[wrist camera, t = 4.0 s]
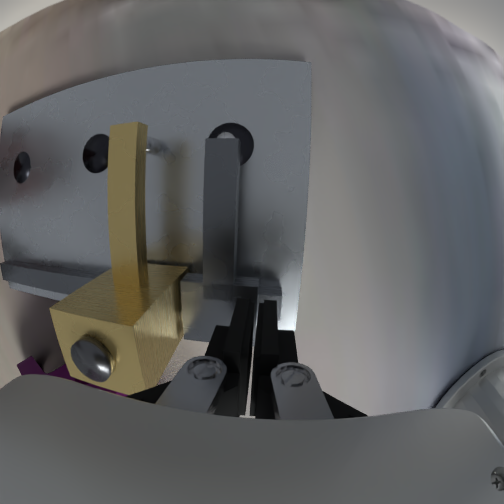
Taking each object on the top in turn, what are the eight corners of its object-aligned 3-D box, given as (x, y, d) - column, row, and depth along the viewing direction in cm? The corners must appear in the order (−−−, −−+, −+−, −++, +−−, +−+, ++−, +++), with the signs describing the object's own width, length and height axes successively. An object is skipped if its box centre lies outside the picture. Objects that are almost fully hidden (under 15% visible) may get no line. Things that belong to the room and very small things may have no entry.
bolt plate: (308, 69, 13) (311, 62, 12) (293, 322, 16) (294, 331, 15) (10, 117, 14) (2, 116, 13) (16, 284, 18) (9, 288, 17)
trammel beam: (290, 140, 13) (294, 130, 10) (278, 320, 16) (278, 347, 13) (6, 166, 14) (-18, 168, 12) (17, 283, 17) (-4, 294, 14)
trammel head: (190, 131, 13) (118, 93, 6) (190, 322, 15) (144, 408, 8) (122, 137, 13) (28, 119, 6) (129, 313, 15) (64, 382, 9)
